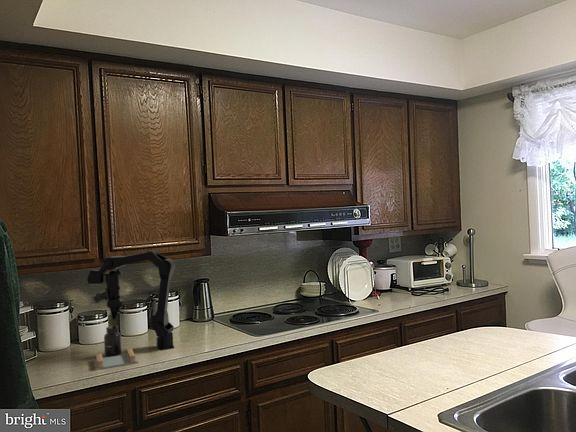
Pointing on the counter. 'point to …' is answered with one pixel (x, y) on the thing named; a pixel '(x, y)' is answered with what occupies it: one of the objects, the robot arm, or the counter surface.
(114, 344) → the supplement bottle
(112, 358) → the rubber mat
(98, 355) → the cradle rails
